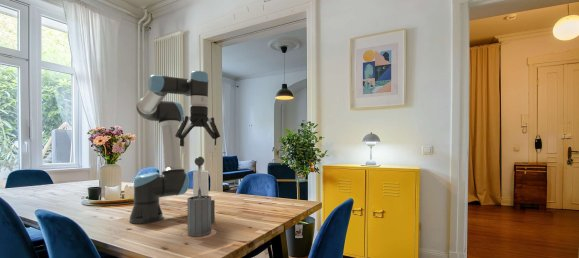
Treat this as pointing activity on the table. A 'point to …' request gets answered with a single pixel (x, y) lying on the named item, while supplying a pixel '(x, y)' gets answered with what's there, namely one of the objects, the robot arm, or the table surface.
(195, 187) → the white slotted column
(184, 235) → the trivet
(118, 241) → the table surface
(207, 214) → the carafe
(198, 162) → the plunger
